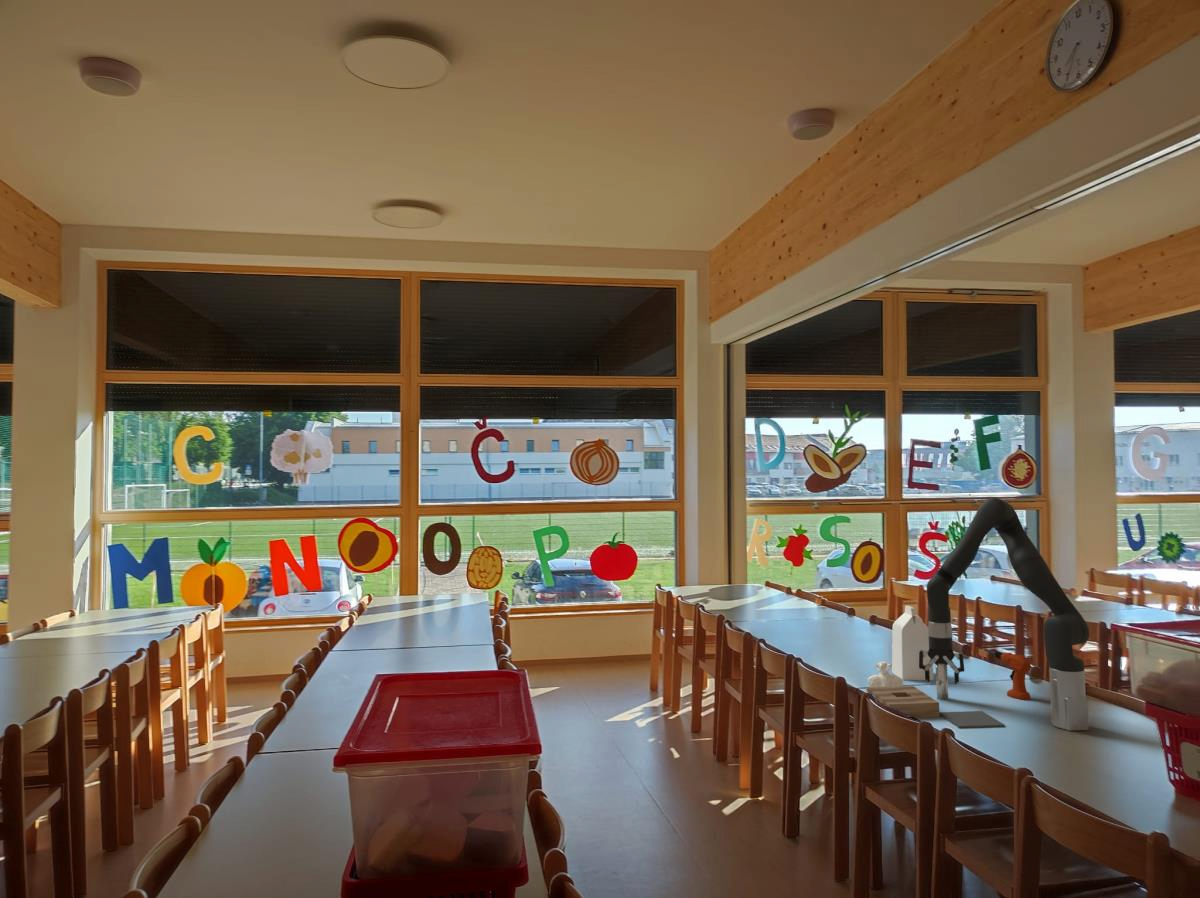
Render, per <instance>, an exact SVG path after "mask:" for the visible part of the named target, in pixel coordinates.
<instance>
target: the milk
mask: <svg viewBox="0 0 1200 898" xmlns="http://www.w3.org/2000/svg"><path fill="white" fill-rule="evenodd" d="M915 609H916V608H914V607H913V606H911V605H905V606H904V613H903V614H901V615H900V616H899V617H898V618H897V619H896V620H895V621H894V622H893V624H892V629H891V631H892V634H891V635H892V636H891V638H892V640H891V641H892V642H891V647H892V648H891V664H892V666H891V673H893V675H896V676H898V677H900V678H901V679H902V680H903V681H927V680H926V679H925V670H924V669H920V668H919V652H920V650H923V651H929V636H928V625H927V624H925V623H924V621H923V619H922V617H920V616H919V615H917V614H916V610H915ZM930 660H931V659H930V657H929V656H928V655H926V656H925V657H923V665H925V666H926V665H927V664H928V662H929V661H930ZM933 667H934V664H933V665H932V666H931V667H930V669H929V673H930V681H932V680H935V677H934V676H935V675H934V668H933Z"/></svg>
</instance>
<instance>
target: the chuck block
mask: <svg viewBox="0 0 1200 898" xmlns="http://www.w3.org/2000/svg"><path fill="white" fill-rule="evenodd" d="M867 692H868V693H870V694H872V695H873V696H874V697H875V698H876V699H877V700H879V701H880V702H881V703H883V704H885V705H887V706H889V707H892V708H895V709H897V710H899V711H900V712H902V713H905V714H907V715H910V716H912V717H914V718H913V719H917V718H919V717H921V718H923V719H925V718H927V717H928V718H940V717H941V716H940V715H939V712H940V703H939V702H938V701H937V700H936V699H934V698H932V697H931V696H929V695H928V694H926V693H924V692H923V691H922V690H920V689H919V688H918V687H916V686H914V685H903V686H890V687H870V686H867V687H866V693H867ZM921 718H919V719H921ZM928 718H927V719H928Z"/></svg>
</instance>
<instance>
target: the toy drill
mask: <svg viewBox="0 0 1200 898" xmlns="http://www.w3.org/2000/svg"><path fill="white" fill-rule="evenodd" d="M983 651H985V652H986V653H989V654H992V655H994V657H995V658H996V659H998V660H1000V662H1002V663H1003V664H1004V665H1006V666H1008V667H1009V668H1010V669H1011V674H1010V675H1009V678H1010V679H1011V680H1012V689H1009V690H1008V691H1006V696H1008V697H1010V698H1013V699H1017V700H1023V701H1028V700H1031V694H1030V692H1028V691H1027V687H1026V680H1025V679H1026V674H1028V673H1029V671H1030V670H1031V667H1032V664H1031V663H1030V660H1028V658H1026V657H1025V656H1024V655H1023V654H1015V653H1014V654H1013V653H1012V652H1002V651H999V650H997V651H993V650H991V649H988V648H984V650H983Z"/></svg>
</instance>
